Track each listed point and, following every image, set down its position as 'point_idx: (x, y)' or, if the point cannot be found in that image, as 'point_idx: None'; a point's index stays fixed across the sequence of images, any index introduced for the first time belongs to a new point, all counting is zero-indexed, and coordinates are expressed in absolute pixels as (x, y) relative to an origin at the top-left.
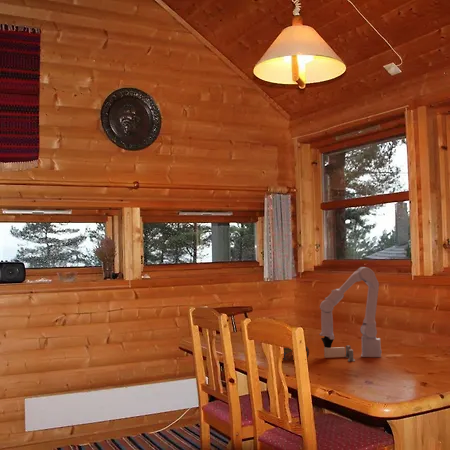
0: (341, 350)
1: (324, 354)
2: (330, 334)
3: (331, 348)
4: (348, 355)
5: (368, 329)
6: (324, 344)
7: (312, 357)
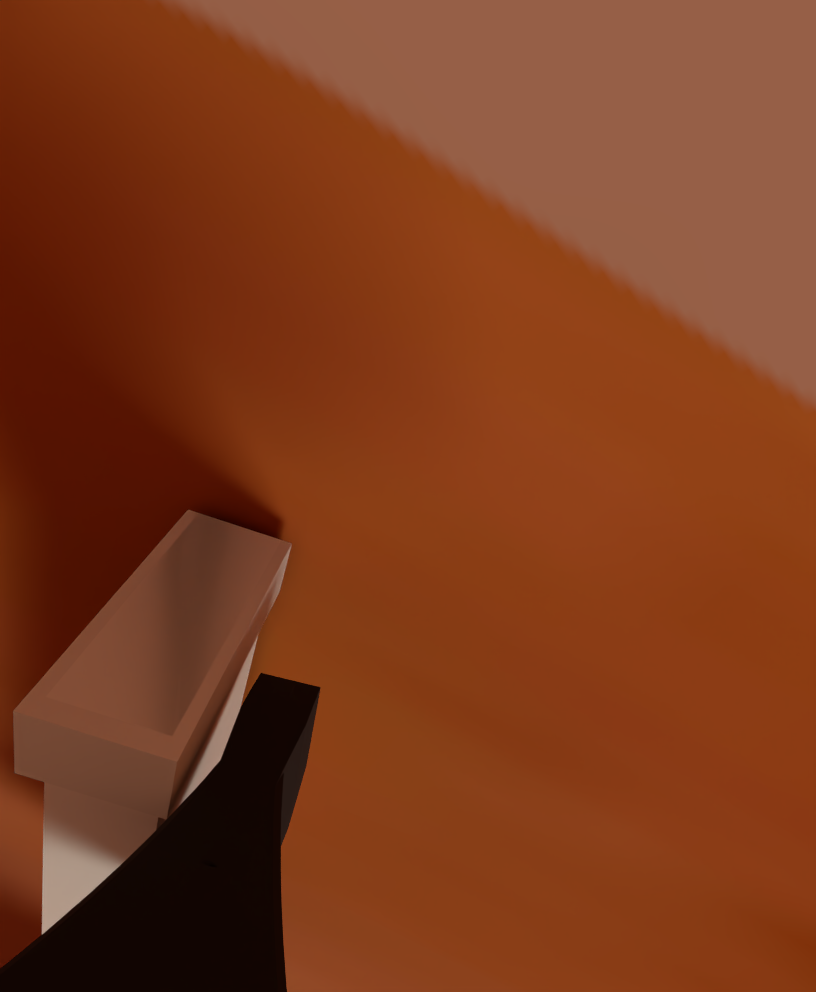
0: None
1: (262, 580)
2: None
3: (47, 830)
4: None
5: None
6: (169, 896)
7: (493, 269)
